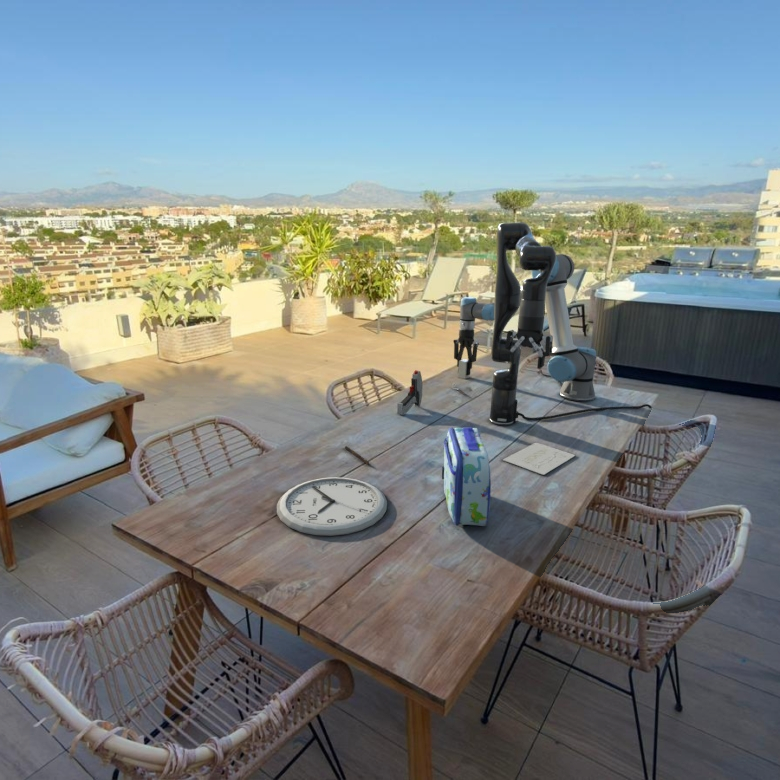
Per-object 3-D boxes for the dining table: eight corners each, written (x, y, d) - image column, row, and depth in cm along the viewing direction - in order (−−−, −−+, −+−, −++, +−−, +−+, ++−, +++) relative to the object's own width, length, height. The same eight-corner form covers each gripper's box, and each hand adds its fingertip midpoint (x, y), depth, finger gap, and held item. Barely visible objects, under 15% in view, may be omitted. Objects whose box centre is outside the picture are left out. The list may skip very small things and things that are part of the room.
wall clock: (392, 527, 129) (268, 531, 127) (391, 533, 130) (269, 537, 127) (383, 473, 158) (282, 475, 155) (383, 478, 158) (282, 480, 156)
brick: (458, 377, 267) (459, 360, 264) (462, 375, 271) (463, 358, 268) (464, 378, 265) (466, 361, 262) (469, 376, 268) (470, 360, 266)
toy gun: (396, 378, 207) (417, 368, 219) (397, 416, 213) (418, 404, 224) (401, 379, 206) (422, 369, 217) (402, 417, 212) (422, 405, 223)
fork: (463, 397, 236) (463, 392, 235) (450, 386, 250) (450, 382, 250) (468, 396, 236) (469, 392, 236) (455, 386, 251) (455, 382, 250)
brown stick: (344, 448, 179) (344, 445, 179) (346, 448, 179) (346, 445, 179) (367, 464, 167) (367, 462, 167) (368, 464, 167) (368, 461, 167)
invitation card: (535, 442, 186) (575, 454, 176) (535, 442, 187) (575, 455, 176) (502, 459, 172) (543, 474, 162) (502, 460, 172) (543, 475, 162)
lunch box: (439, 484, 155) (443, 418, 149) (476, 485, 155) (480, 418, 149) (448, 533, 130) (452, 456, 124) (491, 534, 130) (497, 457, 124)
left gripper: (504, 313, 160) (500, 364, 164) (549, 318, 151) (544, 372, 156) (514, 310, 165) (510, 360, 170) (559, 315, 157) (553, 367, 162)
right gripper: (448, 327, 262) (445, 372, 269) (478, 332, 253) (475, 378, 260) (455, 325, 268) (453, 369, 275) (485, 329, 258) (482, 375, 265)
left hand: (526, 365), depth 163 cm, fingers open, 8 cm apart
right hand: (464, 373), depth 267 cm, fingers closed on brick, 4 cm apart
